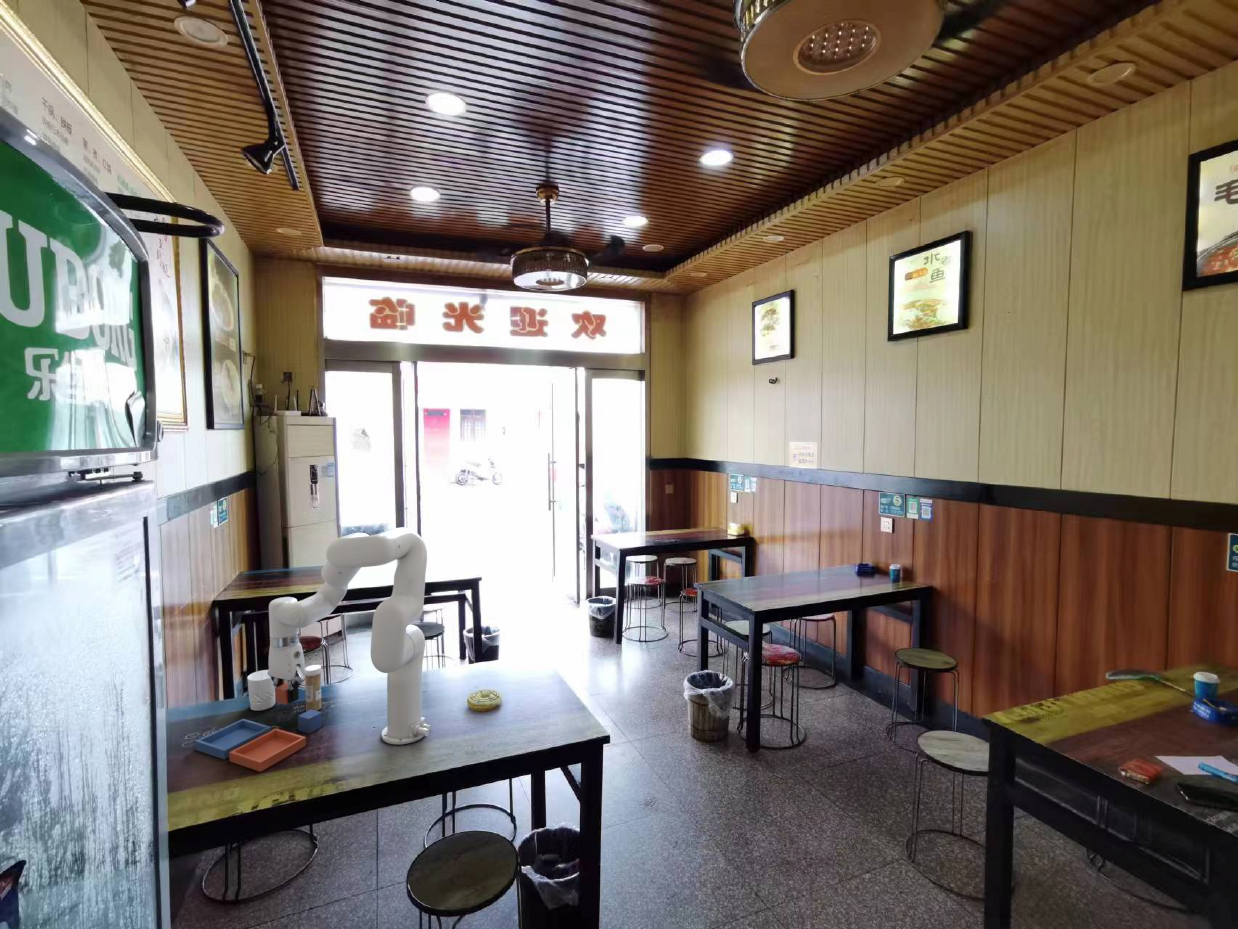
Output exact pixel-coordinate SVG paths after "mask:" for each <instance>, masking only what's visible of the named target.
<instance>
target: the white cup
mask: <svg viewBox="0 0 1238 929" xmlns="http://www.w3.org/2000/svg"><path fill="white" fill-rule="evenodd" d="M268 671H269V669H263V670H258V671H254V672H252V673H250V674H249V675H247V677H246V678H247V691H248V701H249V708H250V710H252V711H257V712H258V711H266V710H268V709H270V708H272V707H274V706H275V704H276V702H275V687H274V686H273V683H274V682H273V681H272V679H271V677H270V676H269V675H268Z"/></svg>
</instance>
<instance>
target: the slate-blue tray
mask: <svg viewBox="0 0 1238 929" xmlns="http://www.w3.org/2000/svg"><path fill="white" fill-rule="evenodd" d="M270 731H272V726H269V725H266V724H263V723H259V722H256V721H252V720H249V719H246V718H242V719H239V720H238V721H235V722H233V723H231V724H229V725H227V726H224V727H222V728H219V729H218V730H216V731H214V732H212V733H210V734H208V735H205V736H203V737H201V738H198V739H197V740H195V742H194V743H195V751H198V752H201V753H204V754H207V755H210V756H213V757H215V758H219V759H222V760H227V759H230V758H229V752H231V751H233V750H235V749H237V748H239V747H241V746H243V745H245V744H247V743H249V742H251V741H252V740H254V739H256V738H258V737H260V736H262V735H264V734H266V733H268V732H270Z"/></svg>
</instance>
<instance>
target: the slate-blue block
mask: <svg viewBox="0 0 1238 929" xmlns="http://www.w3.org/2000/svg"><path fill="white" fill-rule="evenodd" d="M322 727H323V712H322V711H319V710H318V711H315V710H309V711H305V712H303V713H301V714H299V715H297V730H298V732H302V733H306V734H312V733H313V732H315V731H317V730H319V729H320V728H322Z"/></svg>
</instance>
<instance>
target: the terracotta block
mask: <svg viewBox="0 0 1238 929" xmlns="http://www.w3.org/2000/svg"><path fill="white" fill-rule="evenodd" d="M284 683H285V684H284ZM284 683H283V684H282V685H280V686H278V687H276V688H275V703H276V704H282V705H285V706H286V705H289V703H288V690H289V686H288V681H287V682H284ZM298 691H299V688H298ZM299 692H300V691H299Z"/></svg>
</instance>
